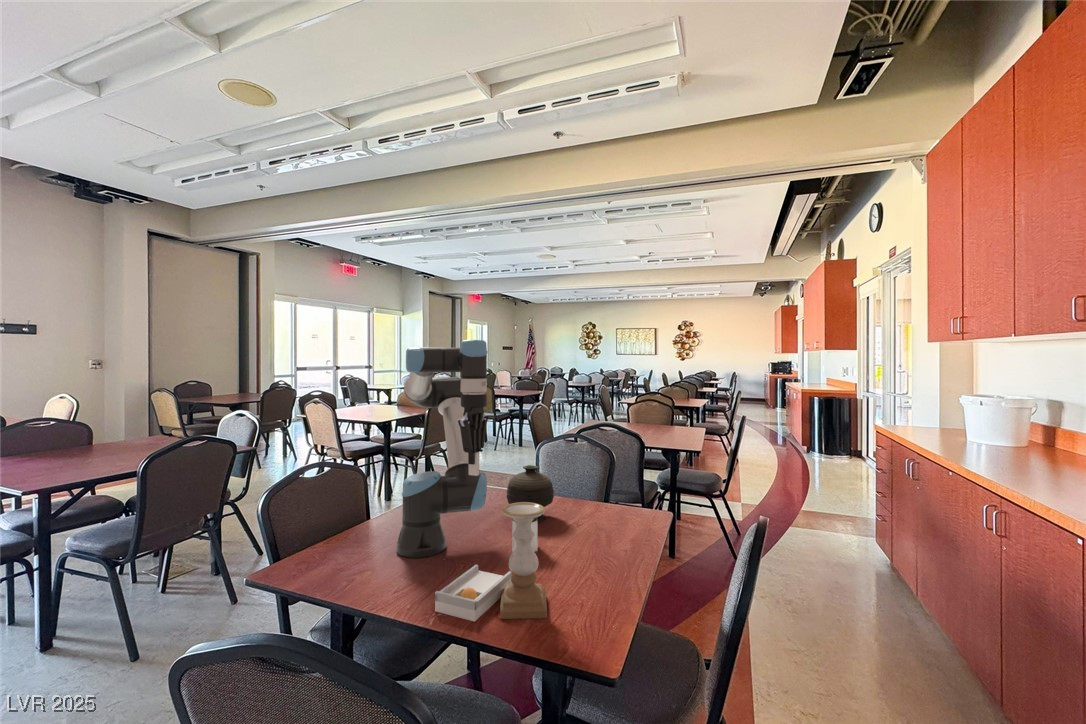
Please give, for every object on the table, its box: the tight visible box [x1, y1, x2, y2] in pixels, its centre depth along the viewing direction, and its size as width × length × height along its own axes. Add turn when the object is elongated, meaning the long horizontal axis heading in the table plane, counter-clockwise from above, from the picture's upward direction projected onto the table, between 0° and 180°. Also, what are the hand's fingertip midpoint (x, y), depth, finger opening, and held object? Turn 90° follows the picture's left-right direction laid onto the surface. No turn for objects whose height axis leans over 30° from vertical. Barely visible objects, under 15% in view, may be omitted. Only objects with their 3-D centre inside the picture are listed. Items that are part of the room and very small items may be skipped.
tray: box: [434, 564, 513, 622], centre depth 118 cm, size 11×18×4 cm, turn 156°
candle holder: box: [499, 502, 548, 620], centre depth 115 cm, size 11×11×24 cm
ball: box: [461, 588, 477, 600], centre depth 115 cm, size 4×4×4 cm
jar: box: [511, 517, 539, 553], centre depth 150 cm, size 9×8×12 cm
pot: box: [506, 464, 555, 522], centre depth 179 cm, size 18×18×20 cm
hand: (473, 474), depth 137 cm, fingers closed
